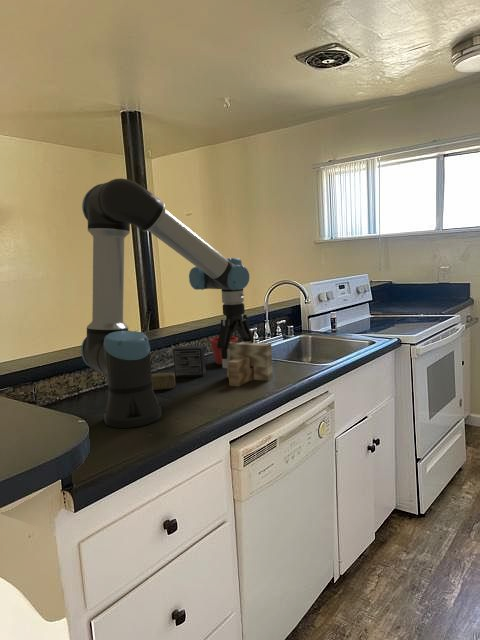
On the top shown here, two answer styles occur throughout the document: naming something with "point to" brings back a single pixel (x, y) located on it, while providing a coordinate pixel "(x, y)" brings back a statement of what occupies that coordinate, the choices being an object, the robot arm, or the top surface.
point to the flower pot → (217, 351)
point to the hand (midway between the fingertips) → (236, 363)
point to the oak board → (240, 371)
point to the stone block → (163, 381)
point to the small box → (189, 361)
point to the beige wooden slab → (254, 358)
